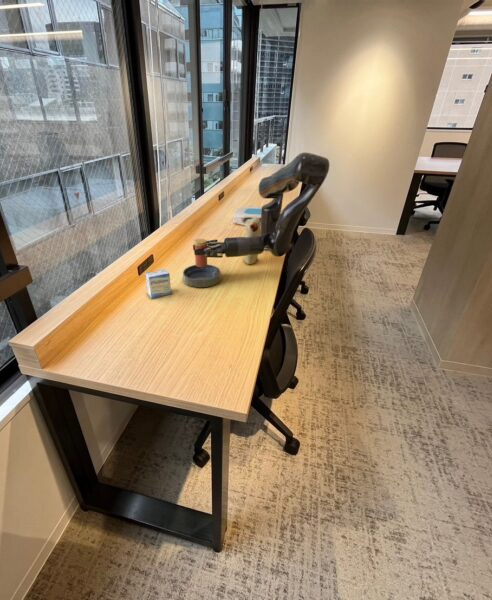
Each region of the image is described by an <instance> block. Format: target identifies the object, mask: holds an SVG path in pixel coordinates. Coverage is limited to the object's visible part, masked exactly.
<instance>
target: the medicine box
mask: <svg viewBox="0 0 492 600" xmlns="http://www.w3.org/2000/svg"><path fill="white" fill-rule="evenodd" d="M144 275H145V282H146V288H147V295H148V296H149V297H150V299H156V298H160V297H165V296H167V295H171V294H172V286H171V277H170V276H171V275H170V272H169V271H168V270H167V269H160V270H156V271H151V272H146V273H144Z"/></svg>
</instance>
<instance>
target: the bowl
mask: <svg viewBox="0 0 492 600" xmlns="http://www.w3.org/2000/svg"><path fill="white" fill-rule="evenodd" d="M182 277H183V278H182V279H183V282H184V283H185V285H188V286H191V287H195V288H207V287H212V286H214V285H217V284H218V283H219V282H220V281H221V270H220V268H218V267H217V266H215V265H212V264H207V266H205V267H197V266H196V264H193V265H190V266H188V267H186V268H185V269H183V270H182Z"/></svg>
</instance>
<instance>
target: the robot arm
mask: <svg viewBox="0 0 492 600" xmlns="http://www.w3.org/2000/svg"><path fill="white" fill-rule="evenodd" d="M329 170H330V159H329V158H327V157H325V156H322V155H318V154H315V153H311V152H305V151H304V152H301V153H298V155H297V156H295V158H293V159H292V161H290V162H289V163H288V164H287V165H285V166H284V167H281V168H279V169H278V170H277V171H276V172H274V173H272V174H271V175H269V176H266V177H263V178H262V179H260V182H259V184H258V194H259V196H260V197H261V198H262V199H272V200H271V201H270V202H268V203H266V204H264V205H262V206H261V207H262V208H261V218H260V223H261V226H260V236H258V237H244V236H236V237H225V238H224V241H218V240H219V239H211V240H207V248H206V249H195V244H193V245H192V250H193V254H194V256H195V255H205V256H207V258H215V259H216V258H217V259H222V258H223V257H224V256H225V257H226V258H235V257H236V258H237V257H238V258H239V257H244V256H246V255H256V254H258V255H261V254H263V253H264V250H265V251H270V253H271V255H272V256H274V257H276V258H281V257H283V256H285V255H286V254H287V253H288V251H289V249H290V246H291V242H292V239H293V234H294V231H295V230H296V227H297V225H298V223H299V221H300V220H301V219H300V218H301V217H302V215H303V214H304V211H305V210H306V209H307V207H308V206H309V204H310V203H311V202H312V200H313V199H314V198H315V196H316V194H317V193H318V191H319V190H320V189H321V187H322V185H323V184H324V182H325V180H326V178H327V176H328V173H329ZM300 183H303V184H307V186H306V187H305V189H304V190H303V191H302V192H301V193H300V194H299V195H298V196H296V197H295V198H294V199H292V200H291V201H290V202H289V203H287V205H285V207H284V208H283V201H284V195H285V193H286V194H287V193H289V192H291V191H294V190H295V189H297V187H298V186H299V185H300ZM282 208H283V209H282ZM281 210H283V211H282V213H281Z"/></svg>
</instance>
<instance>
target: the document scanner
mask: <svg viewBox="0 0 492 600" xmlns="http://www.w3.org/2000/svg"><path fill="white" fill-rule="evenodd" d="M261 208H262V206H243V207H237V208H236V210H235V211H234V214H233V216H232V223H234V224H238V225H241V226H245V225H246V220H247V219H251V218H254V217H257V218H259V219H261ZM282 211H283V209H281V213H282ZM260 226H261V222H260Z"/></svg>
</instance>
